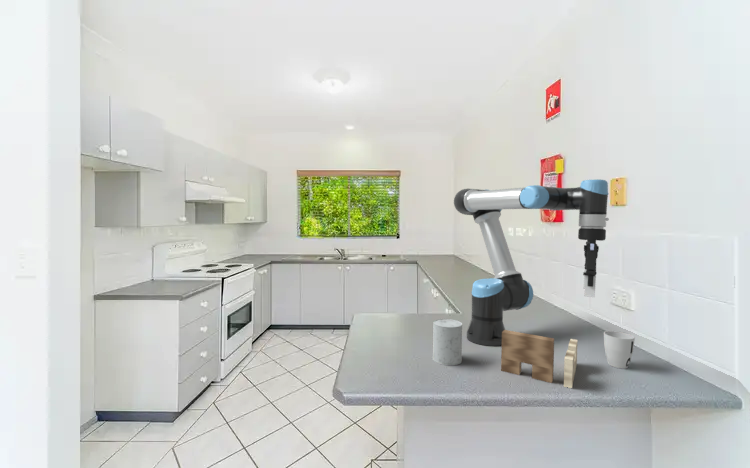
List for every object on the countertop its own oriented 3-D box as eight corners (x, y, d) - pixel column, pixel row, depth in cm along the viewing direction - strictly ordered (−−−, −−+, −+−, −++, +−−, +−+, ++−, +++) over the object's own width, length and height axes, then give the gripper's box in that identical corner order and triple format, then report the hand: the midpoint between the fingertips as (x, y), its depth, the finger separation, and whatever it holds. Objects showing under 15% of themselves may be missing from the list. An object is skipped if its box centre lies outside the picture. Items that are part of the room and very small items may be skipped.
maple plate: (571, 388, 94) (572, 359, 93) (563, 386, 95) (564, 358, 94) (576, 364, 110) (577, 340, 110) (569, 362, 111) (570, 338, 111)
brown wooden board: (501, 370, 105) (501, 332, 104) (503, 367, 107) (504, 329, 107) (551, 383, 97) (552, 341, 96) (553, 379, 99) (554, 338, 99)
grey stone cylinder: (462, 356, 116) (463, 320, 116) (460, 367, 107) (461, 328, 106) (434, 352, 119) (435, 317, 119) (430, 362, 110) (430, 325, 110)
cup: (635, 373, 104) (636, 340, 104) (603, 366, 108) (604, 335, 108) (632, 364, 111) (633, 333, 111) (602, 358, 115) (603, 329, 115)
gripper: (609, 228, 97) (605, 301, 98) (603, 227, 119) (600, 287, 120) (578, 228, 101) (575, 298, 102) (578, 227, 123) (575, 285, 124)
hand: (588, 292), depth 111 cm, fingers open, 13 cm apart
